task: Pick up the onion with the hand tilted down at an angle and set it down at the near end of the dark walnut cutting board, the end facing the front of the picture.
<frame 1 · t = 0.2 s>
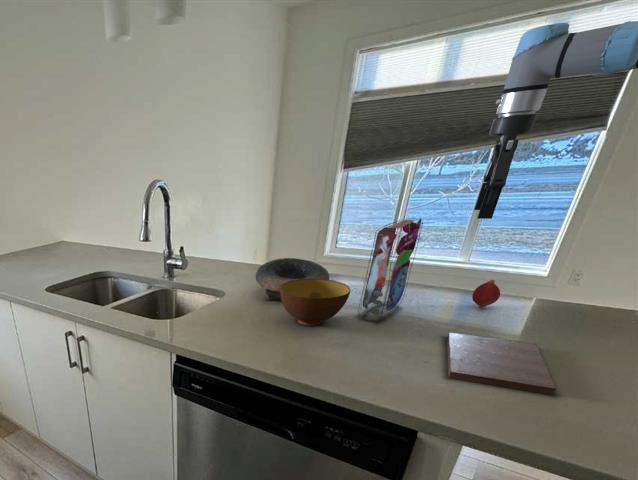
hand: (482, 214, 102), 25 cm above the countertop, tool pointing down, fingers open, 13 cm apart
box: (385, 309, 119), on the countertop
onion: (481, 308, 114), on the countertop
bowl: (309, 322, 116), on the countertop
grinding stone: (291, 294, 137), on the countertop
cutting board: (492, 362, 88), on the countertop
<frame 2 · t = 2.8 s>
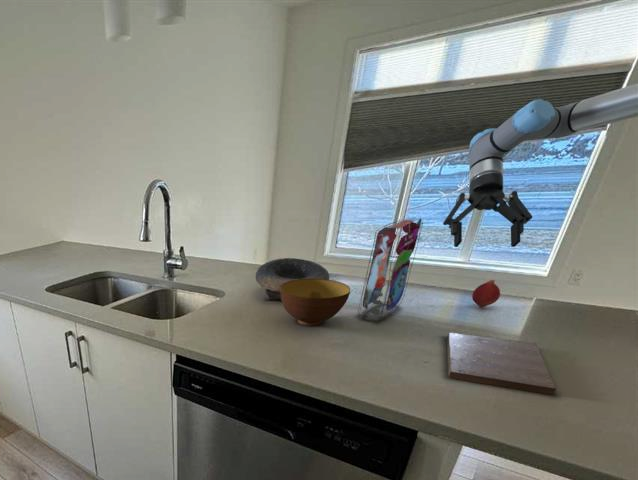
hand: (486, 244, 115), 15 cm above the countertop, tool tilted 45°, fingers open, 13 cm apart
nothing on the countertop moved.
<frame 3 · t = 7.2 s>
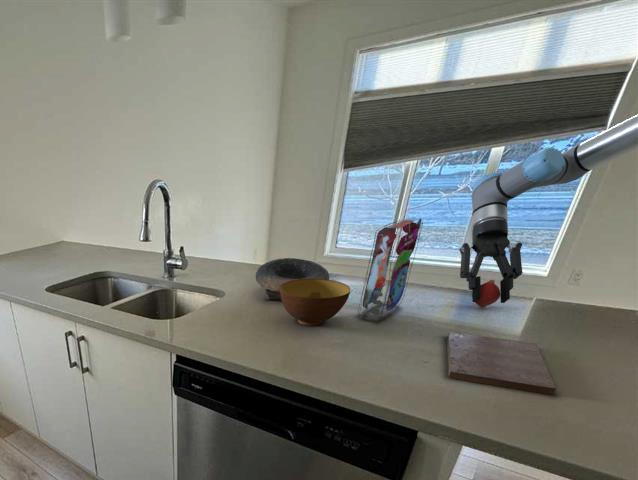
hand: (490, 300, 109), 3 cm above the countertop, tool tilted 45°, fingers closed on onion, 6 cm apart
onion: (481, 308, 114), on the countertop, touching gripper
everything else where it was.
when the fingers open (5 cm above the countertop, at t = 18.7 s): onion stays where it is, resting on cutting board.
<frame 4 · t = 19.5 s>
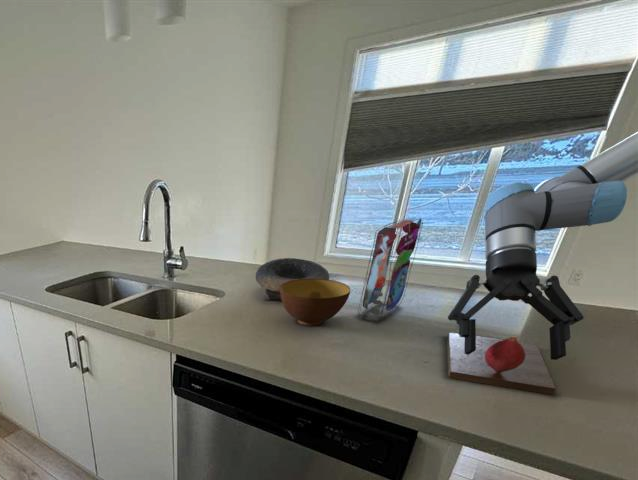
hand: (512, 355, 77), 7 cm above the countertop, tool tilted 45°, fingers open, 13 cm apart
onion: (497, 372, 82), point 1 cm above the countertop, touching cutting board
everything else where it was.
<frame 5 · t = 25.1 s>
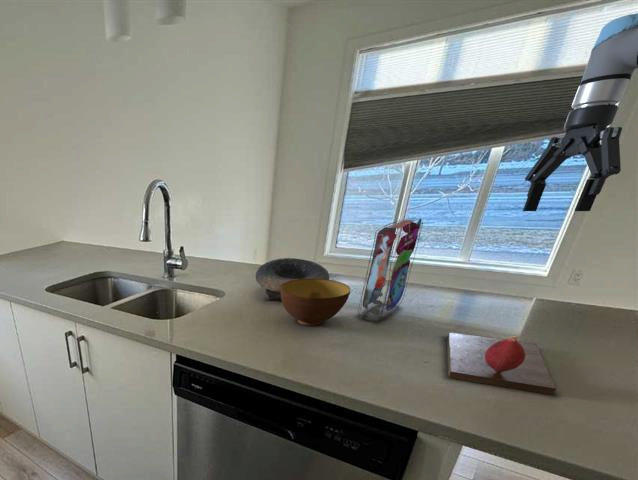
hand: (553, 211, 97), 26 cm above the countertop, tool pointing down, fingers open, 13 cm apart
nothing on the countertop moved.
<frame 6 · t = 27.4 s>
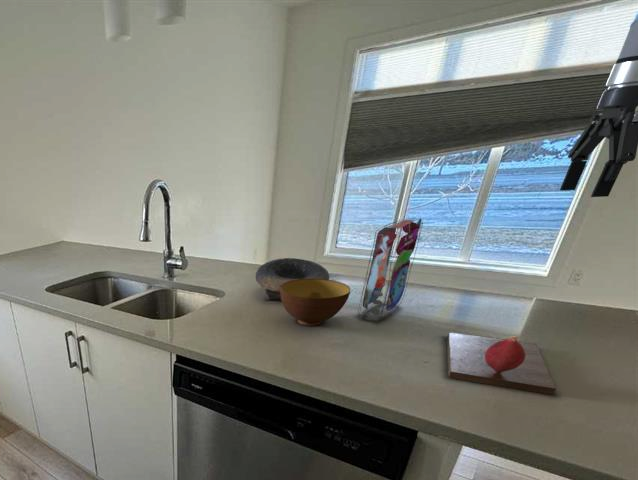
hand: (582, 193, 98), 29 cm above the countertop, tool pointing down, fingers open, 13 cm apart
nothing on the countertop moved.
at the end: onion 0.3 cm from the target spot on the cutting board, point 1.3 cm above the cutting board's base; onion touching cutting board; the gripper is holding nothing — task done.
